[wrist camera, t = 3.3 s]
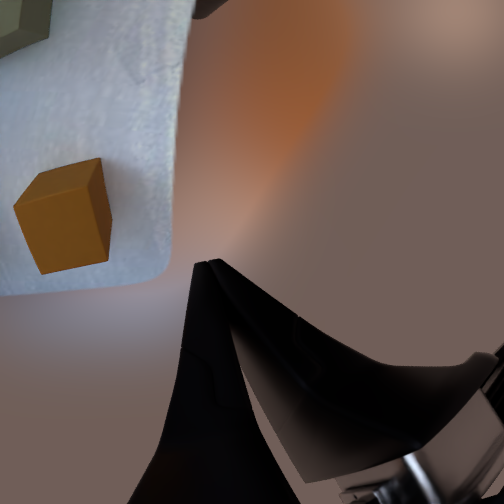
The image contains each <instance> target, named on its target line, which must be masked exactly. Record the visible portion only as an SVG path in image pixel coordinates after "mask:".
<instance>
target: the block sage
mask: <svg viewBox="0 0 504 504" xmlns="http://www.w3.org/2000/svg"><path fill="white" fill-rule="evenodd" d="M51 7H52V0H0V58H2V57H4V56H6V55H8V54H11V53H13V52H15V51H17V50H19V49H21V48H24V47H26V46H28V45H31V44H33V43H36V42H38V41H41V40H44V39H46V38H48V37H49V27H50V16H51Z"/></svg>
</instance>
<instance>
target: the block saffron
mask: <svg viewBox="0 0 504 504" xmlns="http://www.w3.org/2000/svg"><path fill="white" fill-rule="evenodd" d="M13 208H14V211H15V214H16V217H17V219H18V222H19V225H20V227H21V230H22V233H23V235H24V238H25V240H26V242H27V245H28V247H29V249H30V252H31V254H32V256H33V258H34V260H35V263H36V265H37V267H38V269H39V271H40V273H41V274H42V275H43V274H48V273H53V272H57V271H62V270H67V269H72V268H77V267H82V266H86V265H91V264H96V263H101V262H106V261H108V259H109V247H110V236H111V227H112V215H111V211H110V206H109V202H108V197H107V192H106V187H105V182H104V176H103V171H102V165H101V159H100V158H95V159H91V160H86V161H82V162H78V163H74V164H70V165H67V166H63V167H59V168H56V169H52V170H49V171H46V172H42V173H39V174H38V175H37V176H36V177H35V179H34V180H33V181H32V182H31V184H30V185H29V186H28V187H27V189H26V190H25V191H24V192H23V194H22V195H21V196H20V198H19V199H18V200H17V202H16V203H15V205H14V206H13Z"/></svg>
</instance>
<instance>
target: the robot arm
mask: <svg viewBox="0 0 504 504" xmlns="http://www.w3.org/2000/svg"><path fill="white" fill-rule="evenodd" d="M181 347H182V348H181V350H180V358H179V365H178V370H177V376H176V380H175V385H174V389H173V393H172V397H171V401H170V405H169V409H168V412H167V416H166V420H165V424H164V428H163V432H162V436H161V438H160V441H159V445H158V447H157V450H156V452H155V455H154V456H153V458H152V460H151V462H150V463H149V465H148V467H147V469H146V471H145V473H144V474H143V476H142V478H141V480H140V482H139V483H138V485H137V487H136V489H135V491H134V492H133V494H132V496H131V498H130V500H129V502H128V503H127V504H301V503H300V502H299V500H298V498H297V497H296V495H295V493H294V492H293V490H292V488H291V487H290V485H289V483H288V481H287V480H286V478H285V476H284V474H283V473H282V471H281V469H280V467H279V465H278V464H277V462H276V460H275V458H274V456H273V454H272V452H271V450H270V449H269V447H268V445H267V443H266V441H265V439H264V437H263V435H262V433H261V431H260V429H259V427H258V424H257V421H256V418H255V415H254V412H253V410H252V405H251V402H250V399H249V395H248V392H247V388H246V385H245V382H244V378H243V374H242V371H241V368H242V370H243V372H244V374H245V376H246V378H247V380H248V382H249V384H250V386H251V388H252V390H253V392H254V394H255V396H256V398H257V400H258V401H259V403H260V405H261V407H262V409H263V411H264V413H265V415H266V416H267V418H268V420H269V422H270V424H271V426H272V427H273V429H274V431H275V433H276V434H277V436H278V438H279V440H280V442H281V444H282V445H283V447H284V449H285V451H286V452H287V454H288V456H289V457H290V459H291V461H292V463H293V464H294V466H295V468H296V469H297V471H298V472H299V474H300V476H301V477H302V479H303V481H304V482H305V483H311V482H317V481H322V480H327V479H331V478H335V480H336V482H337V484H338V485H339V487H340V489H341V490H342V493H340V494H339V497H340V499H341V500H342V502H343V503H344V504H504V486H503V488H502V489H501V491H500V492H499V493H498V494H497V495H494V496H491V497H487V498H484V499H482V498H481V497H482V496H483V495H484V494H485V493H486V491H487V490H488V489H489V487H490V486H491V485H492V483H493V482H494V481H495V479H496V478H497V476H498V475H499V474H500V472H501V471H502V469H503V468H504V343H503V344H502V345H501V346H500V347H499V348H498V349H497V350H496V351H495V352H494V353H493V354H489V353H482V352H475V353H474V354H472V355H471V356H470V357H469V358H468V359H467V360H466V361H465V362H464V363H463V364H460V365H456V366H443V367H423V366H422V367H421V366H393V365H387V364H383V363H380V362H377V361H375V360H373V359H371V358H368V357H367V356H365V355H363V354H361V353H359V352H357V351H355V350H354V349H352V348H350V347H348V346H346V345H344V344H343V343H341V342H339V341H337V340H335V339H334V338H332V337H330V336H329V335H327V334H325V333H323V332H322V331H320V330H319V329H317V328H316V327H314V326H313V325H311V324H310V323H308V322H307V321H305V320H304V319H303V318H301V317H298V315H297V314H296V313H294V312H293V311H291V310H290V309H288V308H287V307H286V306H284V305H283V304H282V303H280V302H279V301H277V300H276V299H274V298H273V297H272V296H270V295H269V294H268V293H266V292H265V291H264V290H262V289H261V288H260V287H258V286H257V285H255V284H254V283H253V282H251V281H250V280H249V279H247V278H246V277H245V276H243V275H242V274H241V273H239V272H238V271H237V270H235V269H234V268H233V267H231V266H230V265H228V264H227V263H226V262H224V261H223V260H222V259H213V260H209V261H208V262H207V261H203V262H198V263H195V264H194V268H193V274H192V279H191V285H190V291H189V298H188V304H187V310H186V316H185V323H184V330H183V337H182V344H181ZM240 366H241V367H240Z"/></svg>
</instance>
